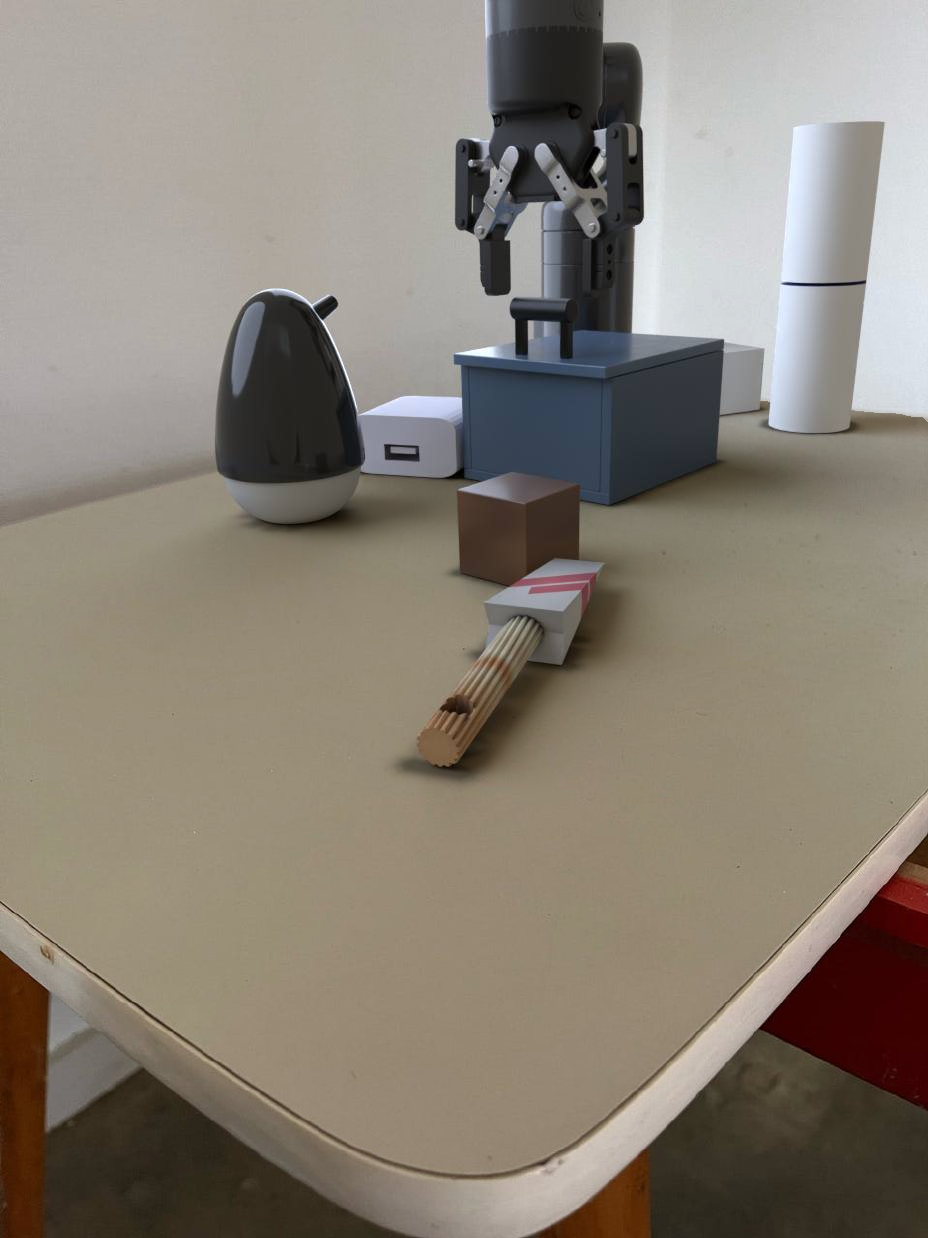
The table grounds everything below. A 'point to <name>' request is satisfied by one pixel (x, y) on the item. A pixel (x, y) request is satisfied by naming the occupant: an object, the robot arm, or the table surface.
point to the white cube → (741, 378)
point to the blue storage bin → (593, 425)
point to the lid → (580, 345)
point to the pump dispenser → (286, 412)
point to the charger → (414, 437)
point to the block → (516, 525)
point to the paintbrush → (511, 650)
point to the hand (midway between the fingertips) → (544, 296)
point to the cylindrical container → (824, 274)
